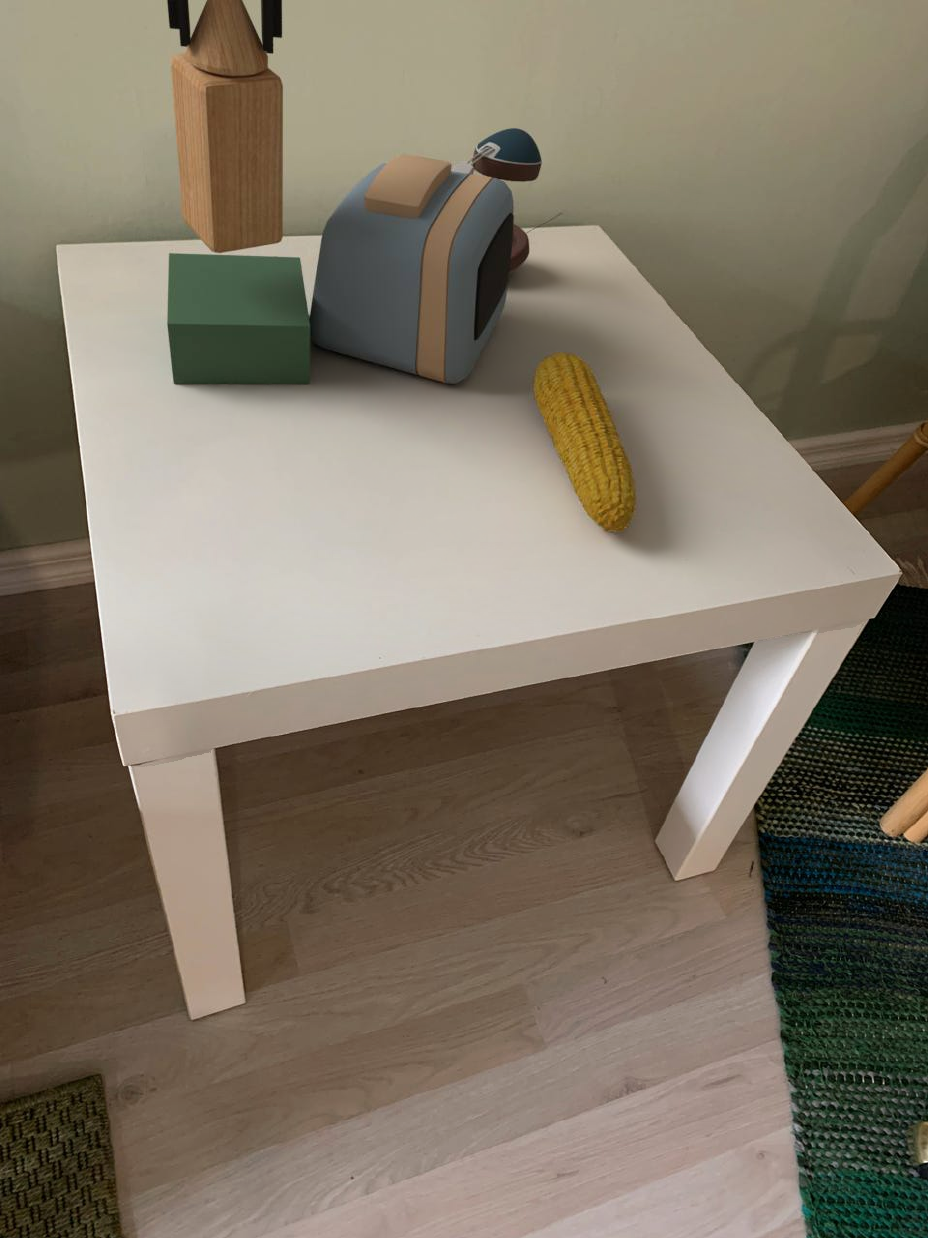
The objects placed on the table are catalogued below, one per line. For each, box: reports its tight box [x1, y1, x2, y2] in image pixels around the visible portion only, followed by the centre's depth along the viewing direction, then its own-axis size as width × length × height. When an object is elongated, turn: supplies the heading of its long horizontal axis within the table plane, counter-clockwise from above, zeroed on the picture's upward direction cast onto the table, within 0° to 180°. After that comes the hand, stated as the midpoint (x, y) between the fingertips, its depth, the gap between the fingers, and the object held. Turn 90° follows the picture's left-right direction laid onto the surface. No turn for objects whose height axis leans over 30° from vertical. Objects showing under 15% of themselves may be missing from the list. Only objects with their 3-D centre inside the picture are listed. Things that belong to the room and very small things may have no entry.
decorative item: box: [170, 0, 284, 254], centre depth 74 cm, size 7×7×20 cm
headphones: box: [451, 127, 562, 274], centre depth 100 cm, size 6×15×22 cm
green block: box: [166, 252, 311, 385], centre depth 88 cm, size 12×12×6 cm
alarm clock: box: [309, 153, 515, 385], centre depth 90 cm, size 16×16×16 cm
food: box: [532, 351, 637, 533], centre depth 82 cm, size 21×6×6 cm, turn 13°
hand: (226, 40), depth 71 cm, fingers closed on decorative item, 5 cm apart
